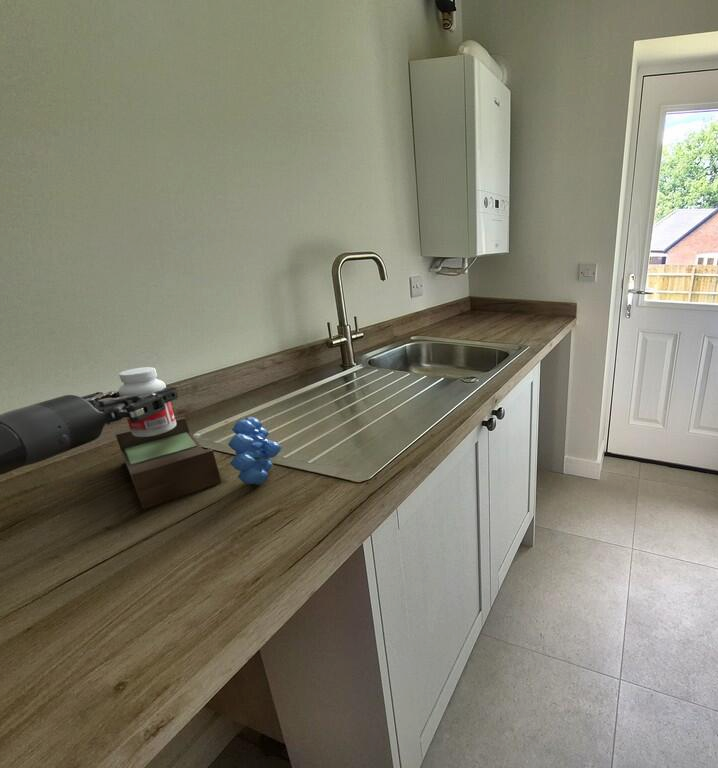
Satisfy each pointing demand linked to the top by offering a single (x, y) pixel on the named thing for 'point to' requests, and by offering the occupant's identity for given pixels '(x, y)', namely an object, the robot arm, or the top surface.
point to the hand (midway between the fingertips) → (157, 391)
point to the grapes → (252, 450)
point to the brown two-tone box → (167, 464)
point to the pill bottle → (141, 384)
